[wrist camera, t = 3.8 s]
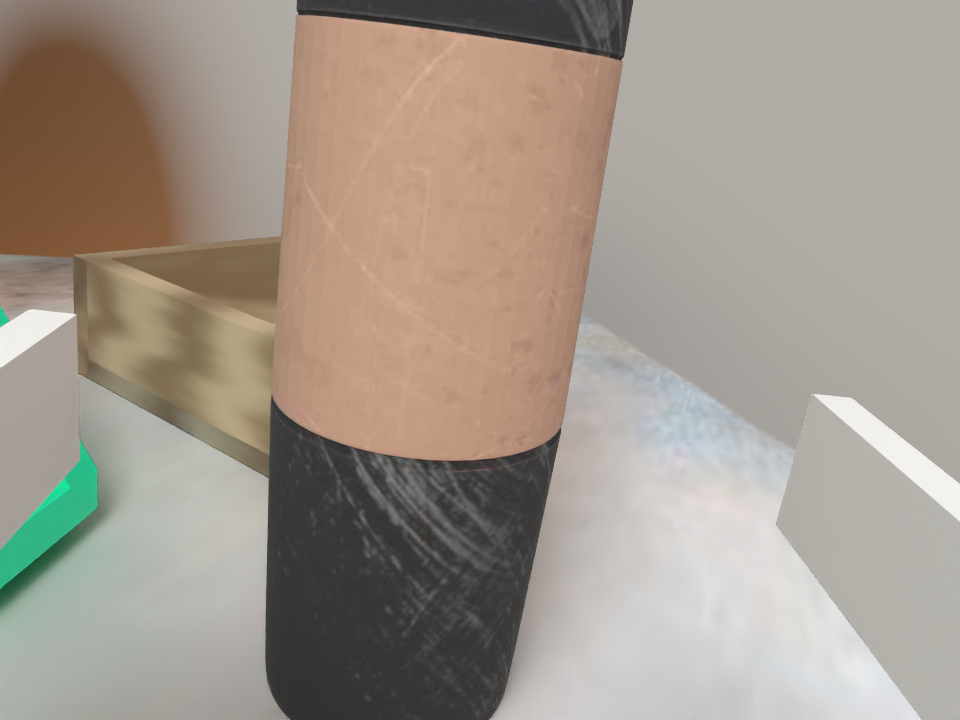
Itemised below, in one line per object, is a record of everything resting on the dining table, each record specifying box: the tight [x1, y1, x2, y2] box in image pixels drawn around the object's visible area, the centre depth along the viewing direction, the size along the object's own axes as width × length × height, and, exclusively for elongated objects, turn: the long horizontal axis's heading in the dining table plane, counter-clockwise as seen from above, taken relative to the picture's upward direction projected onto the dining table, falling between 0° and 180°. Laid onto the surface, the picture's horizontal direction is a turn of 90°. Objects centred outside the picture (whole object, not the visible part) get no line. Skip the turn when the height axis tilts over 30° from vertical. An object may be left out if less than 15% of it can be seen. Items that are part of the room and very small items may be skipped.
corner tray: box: [73, 236, 281, 477], centre depth 44 cm, size 18×18×6 cm
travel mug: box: [265, 0, 633, 720], centre depth 22 cm, size 8×8×20 cm
